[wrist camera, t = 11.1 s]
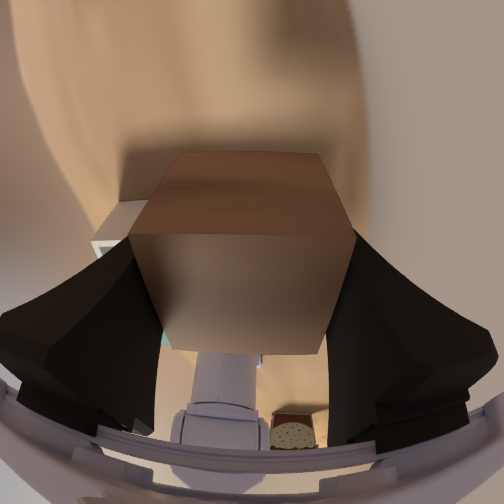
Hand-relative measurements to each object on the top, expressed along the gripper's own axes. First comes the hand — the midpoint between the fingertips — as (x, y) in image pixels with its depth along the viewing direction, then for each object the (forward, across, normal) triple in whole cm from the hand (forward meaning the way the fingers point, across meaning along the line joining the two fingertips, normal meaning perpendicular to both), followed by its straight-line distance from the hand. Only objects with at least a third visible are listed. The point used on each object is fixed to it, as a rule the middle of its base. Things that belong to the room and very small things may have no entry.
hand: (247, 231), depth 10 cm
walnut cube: (+1, 0, 0) cm, 1 cm away
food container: (+10, -8, +59) cm, 61 cm away
